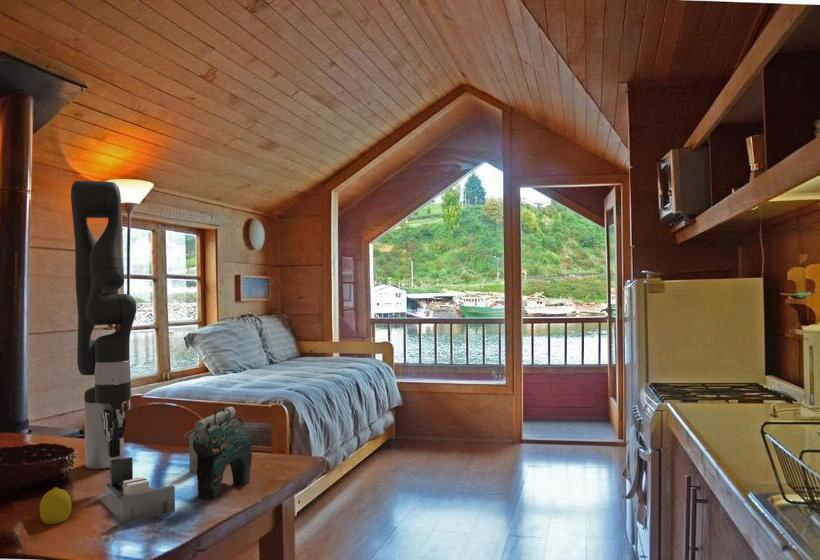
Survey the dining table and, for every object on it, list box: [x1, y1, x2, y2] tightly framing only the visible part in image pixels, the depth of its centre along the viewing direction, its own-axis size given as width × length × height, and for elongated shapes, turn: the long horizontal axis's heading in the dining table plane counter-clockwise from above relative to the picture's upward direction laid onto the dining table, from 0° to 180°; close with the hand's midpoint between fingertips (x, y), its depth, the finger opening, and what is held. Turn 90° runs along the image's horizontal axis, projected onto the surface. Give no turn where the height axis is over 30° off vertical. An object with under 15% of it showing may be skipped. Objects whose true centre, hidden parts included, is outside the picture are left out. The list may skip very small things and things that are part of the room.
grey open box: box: [97, 477, 176, 525], centre depth 134 cm, size 20×10×6 cm, turn 39°
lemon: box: [39, 486, 73, 525], centre depth 126 cm, size 6×6×8 cm
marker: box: [123, 477, 150, 495], centre depth 134 cm, size 4×4×5 cm
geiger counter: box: [183, 406, 238, 473], centre depth 168 cm, size 14×6×25 cm
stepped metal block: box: [109, 456, 134, 496], centre depth 139 cm, size 9×4×7 cm, turn 39°
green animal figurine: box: [193, 406, 253, 501], centre depth 145 cm, size 20×6×20 cm, turn 166°
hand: (114, 456), depth 146 cm, fingers closed
